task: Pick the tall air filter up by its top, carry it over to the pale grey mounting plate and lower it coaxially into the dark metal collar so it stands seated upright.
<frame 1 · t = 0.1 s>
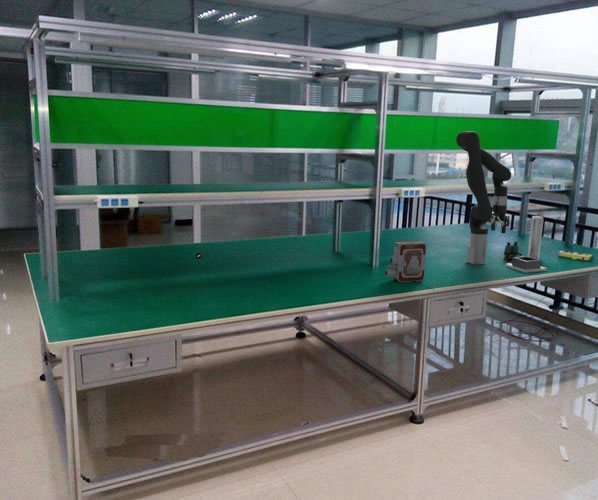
hand: (498, 231, 317), 17 cm above the table, tool pointing down, fingers open, 8 cm apart
mount: (525, 268, 305), on the table
binoculars: (512, 260, 324), on the table
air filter: (533, 258, 330), on the table
cine camera: (403, 280, 277), on the table
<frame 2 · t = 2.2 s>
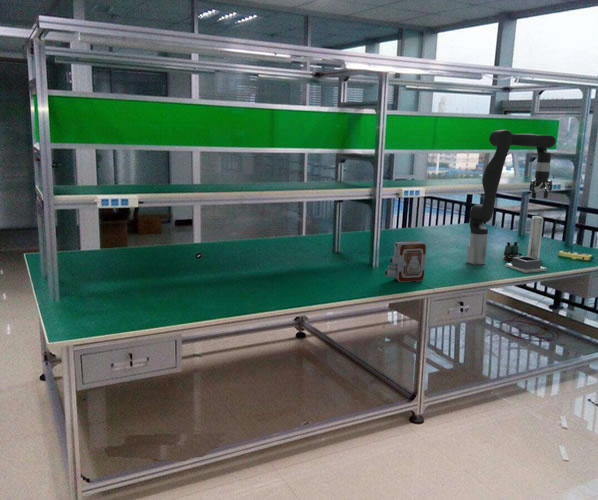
hand: (539, 198, 323), 36 cm above the table, tool pointing down, fingers open, 8 cm apart
nothing on the table moved.
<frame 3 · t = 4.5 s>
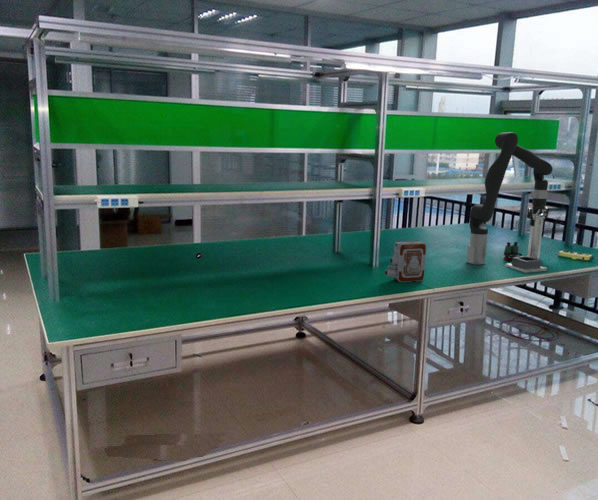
hand: (536, 225, 326), 20 cm above the table, tool pointing down, fingers closed on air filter, 6 cm apart
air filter: (533, 258, 330), on the table, touching gripper
everything else where it was.
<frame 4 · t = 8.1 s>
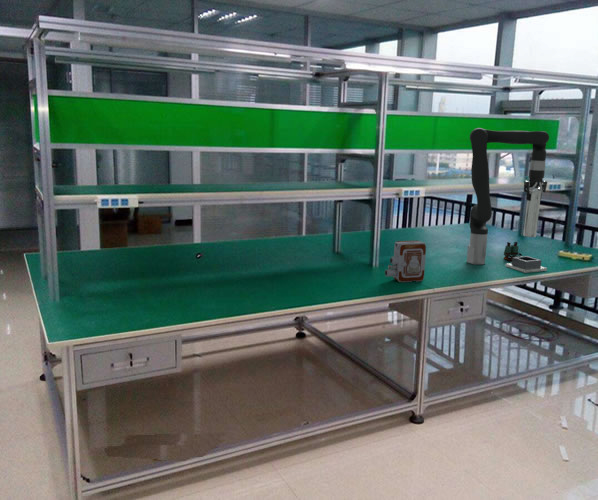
hand: (533, 200, 299), 37 cm above the table, tool pointing down, fingers closed on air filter, 6 cm apart
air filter: (529, 236, 304), point 18 cm above the table, touching gripper
everything else where it was.
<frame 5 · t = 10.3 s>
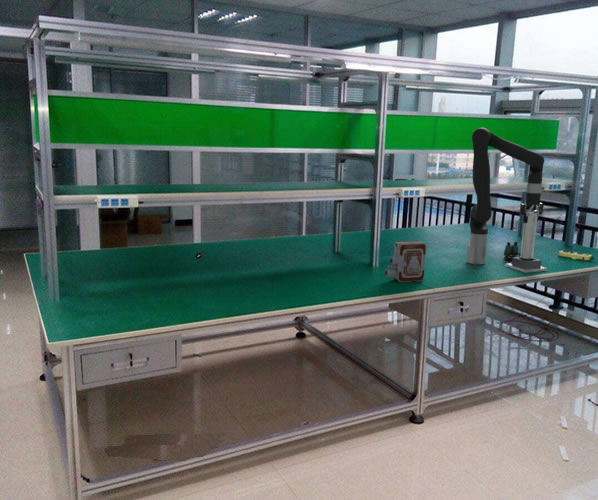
hand: (530, 222, 300), 26 cm above the table, tool pointing down, fingers closed on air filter, 6 cm apart
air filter: (526, 258, 304), point 6 cm above the table, touching gripper
everything else where it was.
when the fingers open (22 cm above the table, at t = 12.0 s): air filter stays where it is, resting on mount.
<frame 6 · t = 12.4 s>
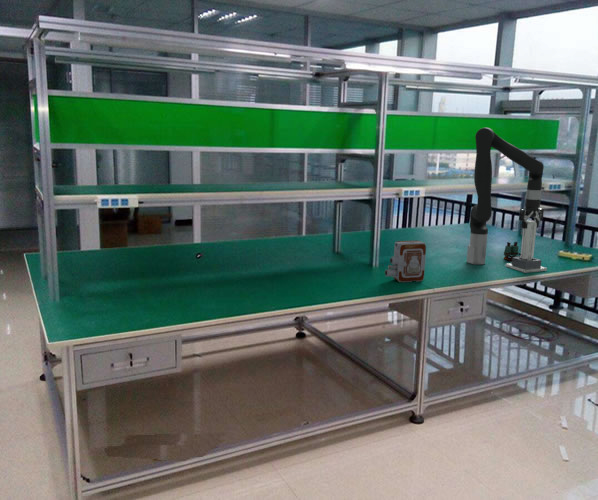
hand: (529, 228, 300), 23 cm above the table, tool pointing down, fingers open, 8 cm apart
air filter: (525, 266, 305), point 1 cm above the table, touching mount
everything else where it was.
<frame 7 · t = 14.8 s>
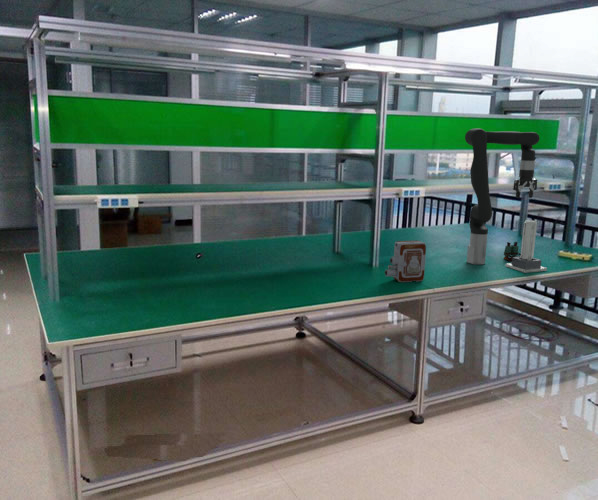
hand: (524, 197, 311), 37 cm above the table, tool pointing down, fingers open, 8 cm apart
nothing on the table moved.
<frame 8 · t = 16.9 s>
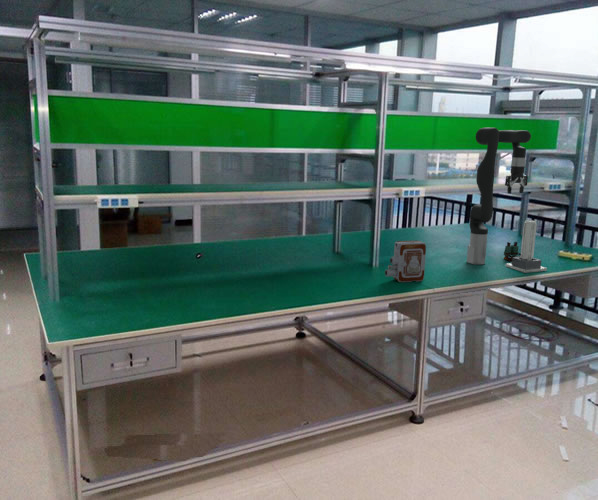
hand: (515, 193, 326), 38 cm above the table, tool pointing down, fingers open, 8 cm apart
nothing on the table moved.
at the end: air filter 0.1 cm off-centre on the mount, point 1.3 cm above the mount's base; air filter tilted 0°; the gripper is holding nothing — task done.
